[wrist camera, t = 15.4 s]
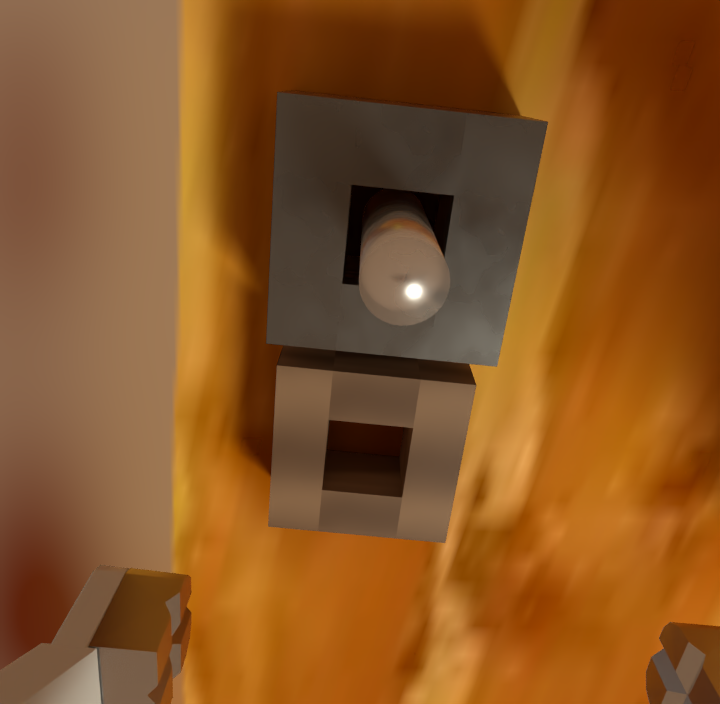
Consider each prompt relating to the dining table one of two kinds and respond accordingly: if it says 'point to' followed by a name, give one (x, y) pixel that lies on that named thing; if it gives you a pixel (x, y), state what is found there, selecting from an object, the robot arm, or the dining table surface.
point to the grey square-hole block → (402, 172)
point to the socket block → (367, 471)
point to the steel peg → (400, 260)
